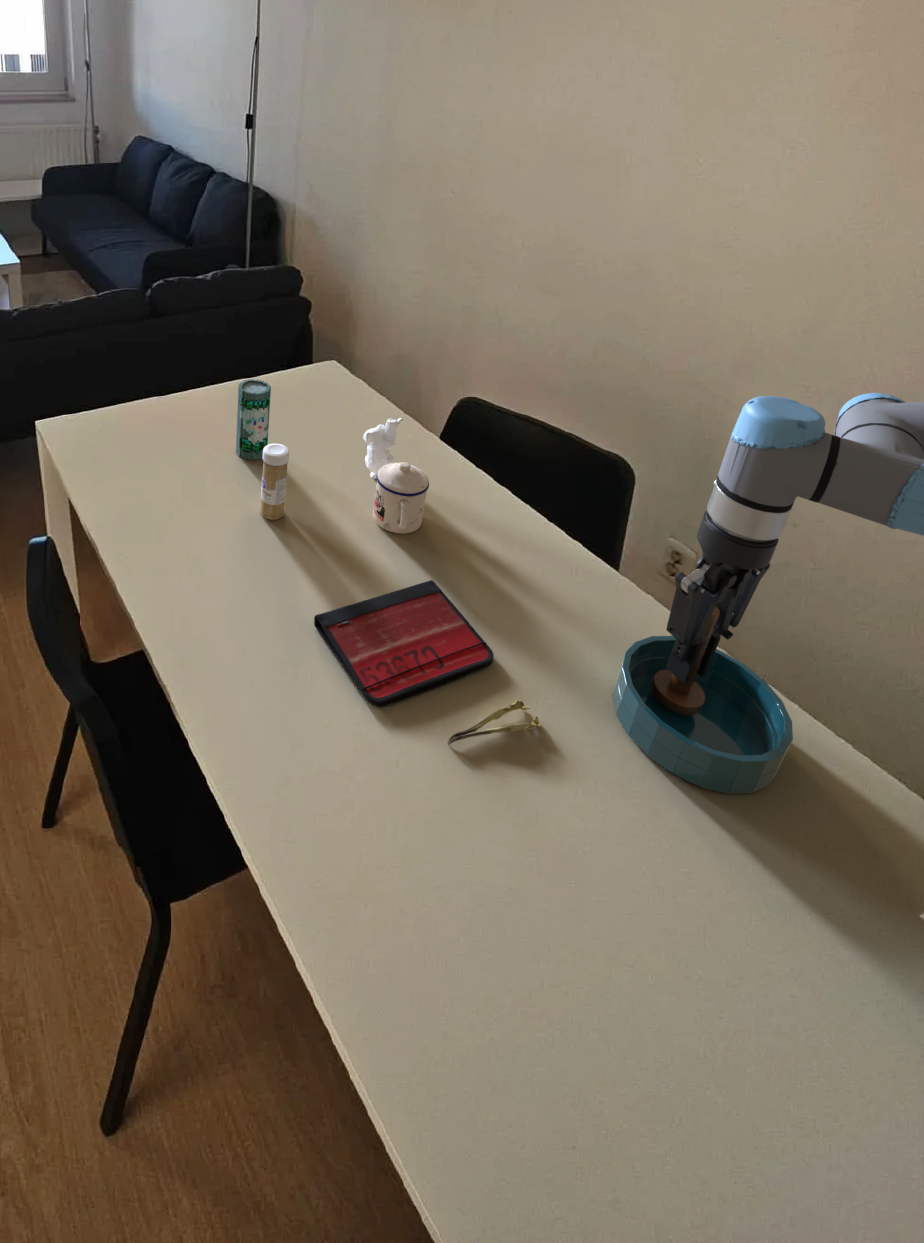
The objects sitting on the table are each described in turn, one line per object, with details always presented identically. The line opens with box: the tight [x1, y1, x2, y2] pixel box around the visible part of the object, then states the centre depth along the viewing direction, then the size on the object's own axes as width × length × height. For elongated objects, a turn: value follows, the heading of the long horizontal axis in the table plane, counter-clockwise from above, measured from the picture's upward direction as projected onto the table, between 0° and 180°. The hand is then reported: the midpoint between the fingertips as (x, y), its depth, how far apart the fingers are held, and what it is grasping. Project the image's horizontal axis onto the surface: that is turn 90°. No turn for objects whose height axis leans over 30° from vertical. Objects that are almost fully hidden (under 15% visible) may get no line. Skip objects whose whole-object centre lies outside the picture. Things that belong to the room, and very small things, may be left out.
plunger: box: [651, 606, 720, 715], centre depth 95 cm, size 6×6×15 cm
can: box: [235, 378, 272, 461], centre depth 149 cm, size 6×6×15 cm
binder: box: [313, 579, 494, 707], centre depth 106 cm, size 16×2×21 cm
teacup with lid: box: [372, 461, 430, 535], centre depth 129 cm, size 12×9×12 cm
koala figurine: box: [362, 417, 404, 480], centre depth 144 cm, size 8×7×12 cm
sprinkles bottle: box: [259, 443, 290, 521], centre depth 131 cm, size 5×5×13 cm
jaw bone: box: [447, 699, 542, 746], centre depth 94 cm, size 4×13×2 cm, turn 114°
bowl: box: [612, 635, 794, 794], centre depth 95 cm, size 19×19×6 cm
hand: (685, 671), depth 96 cm, fingers closed on plunger, 2 cm apart
